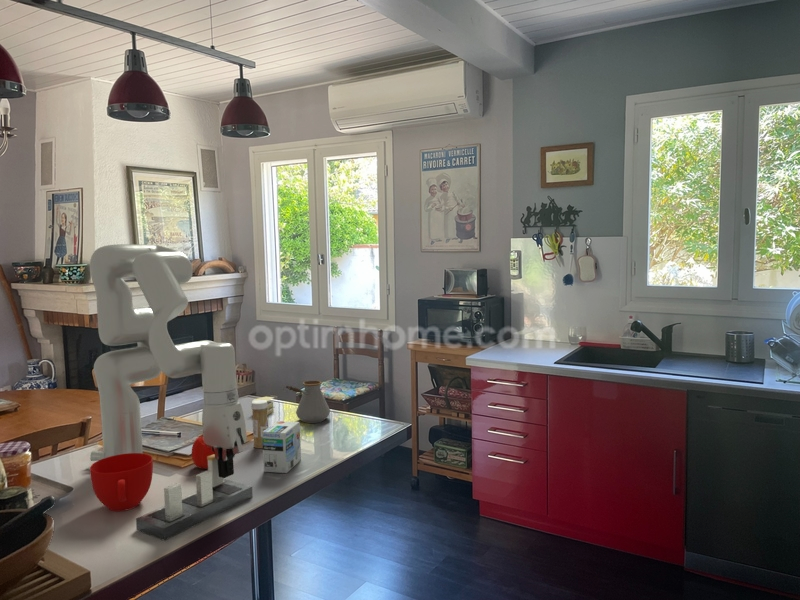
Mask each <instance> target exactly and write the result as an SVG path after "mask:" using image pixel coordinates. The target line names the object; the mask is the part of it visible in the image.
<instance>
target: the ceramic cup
mask: <svg viewBox="0 0 800 600" xmlns="http://www.w3.org/2000/svg"><path fill="white" fill-rule="evenodd" d="M153 468H154V459H153V457H152V455H150V454H147V453H144V452H143V453H128V454H120V455H115V456H110V457H107V458H104V459H101V460H99V461H94V462H93V463H92V464H91V465H90V467H89V473H90V474H89V475H90V480H91V484H92V490H93V492H94V495H95V497H96V498H97V499H98V501H99V502H100V503H101V504H103V506H105V507H106V508H107V509H108V510H109V511H111V512H123V511H124V512H125V511H128V510H131V509H134V508H136V507H138V506H139V505H140V504H141V502H142V501H143V499H144V498H145V497H146V495H148V492H149V490H150V488H151V485H152V484H151V483H152V480H153V473H154V469H153Z"/></svg>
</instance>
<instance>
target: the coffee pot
mask: <svg viewBox="0 0 800 600" xmlns="http://www.w3.org/2000/svg"><path fill="white" fill-rule="evenodd" d="M322 383H323V381H321V380H305V381H303V382H302V385H303V388H304V390H302V389H299V388H298V387H293V386H292V385H287V386H284V387H283V389H282V390H283V392H284V393H286V391H285V388H286V389H288V390H287V393H289V391H292V392H296V393H300V394H301V393H302V395H301V398H300V401H299V402H298V406H297V408H296V410H295V415H296V417H297V418H298V419H299V420H301V421H302V423H306V424H315V423H316V424H317V423H321V422H324V421H325V419H327V418H328V417H329V415H330V414H331V413H330V412H331V409H330V407H329V404H328V403H327V400H326V398H325V396H324V393H323V392H322V390H321V385H322Z"/></svg>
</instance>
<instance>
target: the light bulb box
mask: <svg viewBox="0 0 800 600" xmlns="http://www.w3.org/2000/svg"><path fill="white" fill-rule="evenodd" d="M262 439H263V448H262V455H263V456H262V458H263V462H262V463H263V472H264V473H278V474H279V473H280V474H287V473H288V472H290V471H291V470H292V469H293V468H294V467H295V466H296V465H297V464H299V463H300V462H301V460H302V446H301V423H300V421H288V420H287V421H285V420H277V421H276V422H274V423H273V424H272V425H270V426H268V428H267V429H266V430H265V431H263V432H262Z"/></svg>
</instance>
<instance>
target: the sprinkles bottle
mask: <svg viewBox="0 0 800 600" xmlns="http://www.w3.org/2000/svg"><path fill="white" fill-rule="evenodd" d="M267 407H268V403H267V401H266V400H256V401H253V400H252V402H251V411H252V412H251V413H252V436H253V447H254V448H256V449H263V439H262V432H263V431H265V430H266V429H267V428H269V419H268V415H267Z"/></svg>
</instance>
